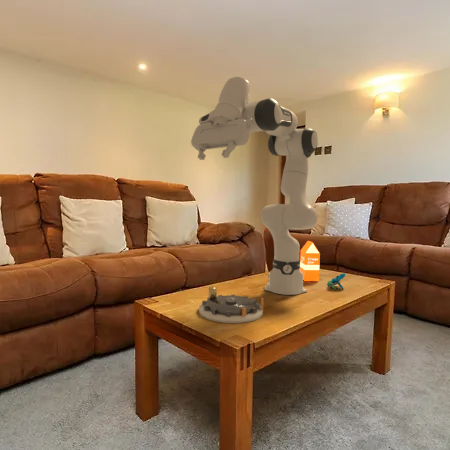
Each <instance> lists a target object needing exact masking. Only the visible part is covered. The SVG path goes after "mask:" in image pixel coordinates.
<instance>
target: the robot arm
mask: <svg viewBox="0 0 450 450" xmlns="http://www.w3.org/2000/svg"><path fill="white" fill-rule="evenodd" d="M250 84H251V83H250V82H249V81H248V80H247V79H246V78H244V77H241V76H235V77H234V76H233V77H230V78H229V79H227V81H226V82H225V84H224V85H223V87H222V89H221V92H220V94H219V98H218V103H217V104H216V106H215V107H214V109H213V110H211V111H210V112H209V113H207V114H205V115H203V116H201V117H200V118H199V119H198V125H197V127H196V128H195V129H194V132H193V135H192V137H191V141H190V143H191V146H192V147H193V148H194V149H195V150H197V151H198V155H197V159H199V161H203V160H205V159H206V154H205V153H204V152H206V151H207V150H212V149H213V150H214V149H221V148H224V149H223V150H222V152H221V156H222V157H223V158H224V159H226V158H227V159H229V157H230V156H231V155H230V154H231V153H232V152H233V151H234V150H235V149H236V147H239V146H245V145H246V144H247V143H248V142H249V138H250V133H255V132H256V133H257V132H265V133H266V134H267V135H269V137H268V140H267V148H268V150H269V153H270V154H271V155H273V156H276V157H278V156H279V157H280V156H283V157H284V156H287V158H286V161H285V163H284V167H283V172H282V177H281V181H280V182H281V183H280V192H281V193H282V195H283V196H285V197H286V198H288V199H289V203H285V204H284V203H275V204H274V203H273V204H269V205H265V206H264V207H263V208H262V210H261V212H260V220H261V222H262V224H263V225H264V226H265V227H266V228H267V230H268V231H269V232H270V235H271V236H272V240H273V249H274V250H273V251H274V252H273V253H274V257H273V259H272V267H273V268H272V269H271V270H270V271H269V273H268V276H267V278H268V279H267V280H268V282H267V284H265V286H264V290H265V291H267V292H271V293H273V294H277V295H278V294H279V295H287V296H289V295H290V296H291V295H292V296H294V295H300V294H302V293H303V294H304V293H307V292H308V289H307V288H306V287H304V281H303V273H302V272H301V271H300V253H301V248H300V247H301V246H300V243H299V240H297V239H296V238H294V237H293V236H292V235H291V233H290V231H289V230H297V231H298V230H299V231H303V230H312V228H314V227H315V225H316V224H317V221H318V212H317V210H316V209H315V208H314V207H313V206H312V205H311V203H310V202H309V200H308V198H307V194H306V193H307V192H306V189H307V182H308V176H309V158H311V156H312V154H313V153H315V150H316V149H317V147H318V144H319V143H318V142H319V141H318V134H317V132H316V131H315V129H313V128H308V127H307V128H297V127H298V126H299V124H298V123H299V121H298V120H299V119H298V117H297V115H296V114H295V113H294V112H293V111H291V110H290V109H288V108H287V107H283V106H281V105H280V103H279V102H277V100H275V99H274V98H272V97H269V98H265V99H262V100H258V101H253V102H252V101H251V102H250V99H249V93H250V86H251V85H250Z"/></svg>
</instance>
